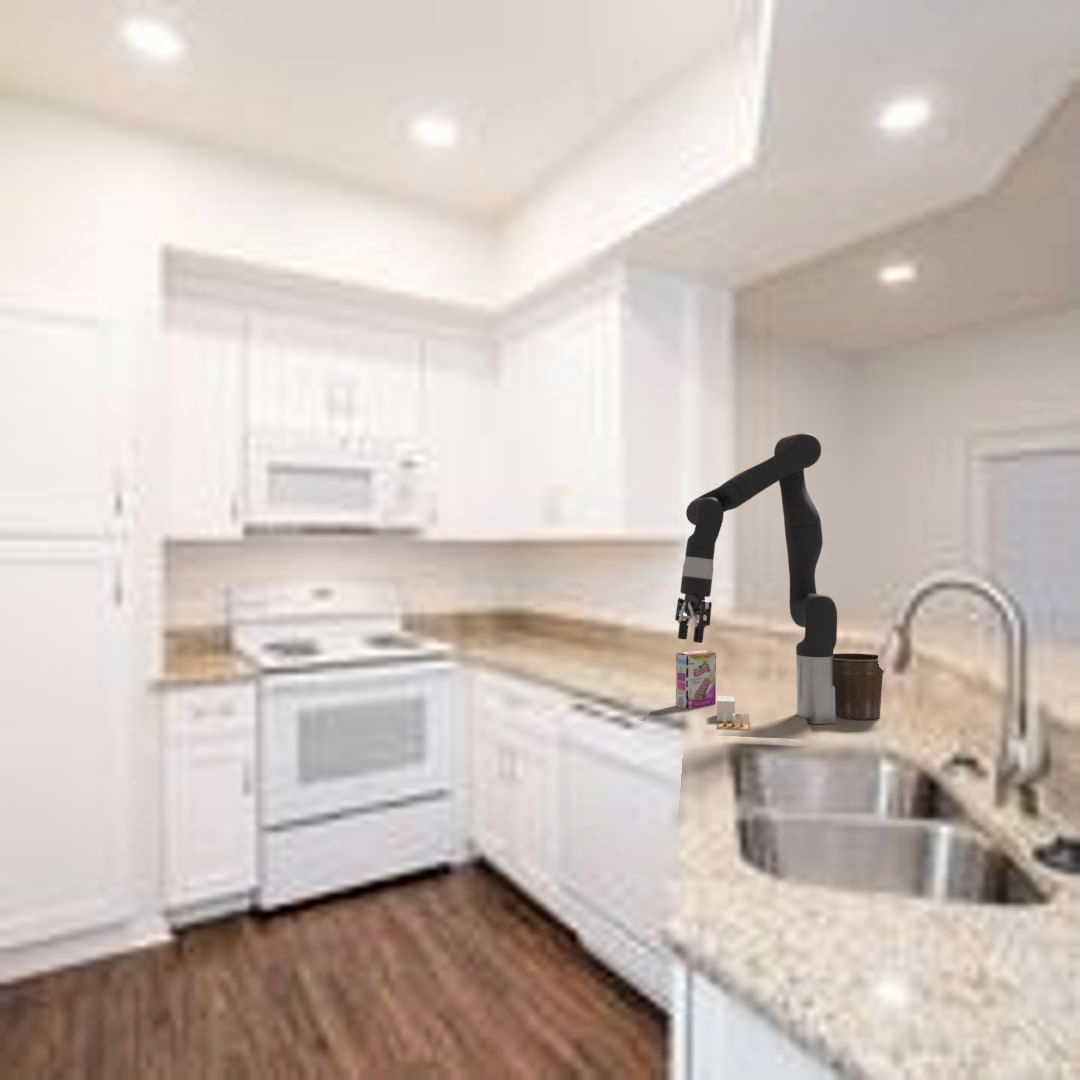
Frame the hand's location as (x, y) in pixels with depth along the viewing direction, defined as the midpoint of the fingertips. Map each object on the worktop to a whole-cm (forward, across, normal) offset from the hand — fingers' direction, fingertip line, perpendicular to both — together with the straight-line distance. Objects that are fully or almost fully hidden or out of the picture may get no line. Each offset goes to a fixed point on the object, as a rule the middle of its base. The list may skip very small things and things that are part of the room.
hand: (689, 640), depth 201 cm
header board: (+20, 0, -15) cm, 25 cm away
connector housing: (+19, +4, -15) cm, 24 cm away
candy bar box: (+20, +23, -16) cm, 35 cm away
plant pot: (+15, +2, -52) cm, 55 cm away
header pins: (+19, -6, -12) cm, 23 cm away
